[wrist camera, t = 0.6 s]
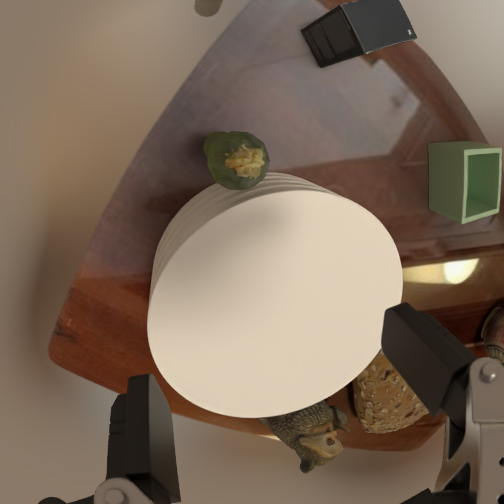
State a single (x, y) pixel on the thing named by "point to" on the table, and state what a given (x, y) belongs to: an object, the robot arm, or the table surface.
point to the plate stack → (269, 296)
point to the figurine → (310, 432)
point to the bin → (464, 179)
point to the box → (358, 30)
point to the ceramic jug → (494, 334)
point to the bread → (384, 398)
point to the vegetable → (236, 159)
